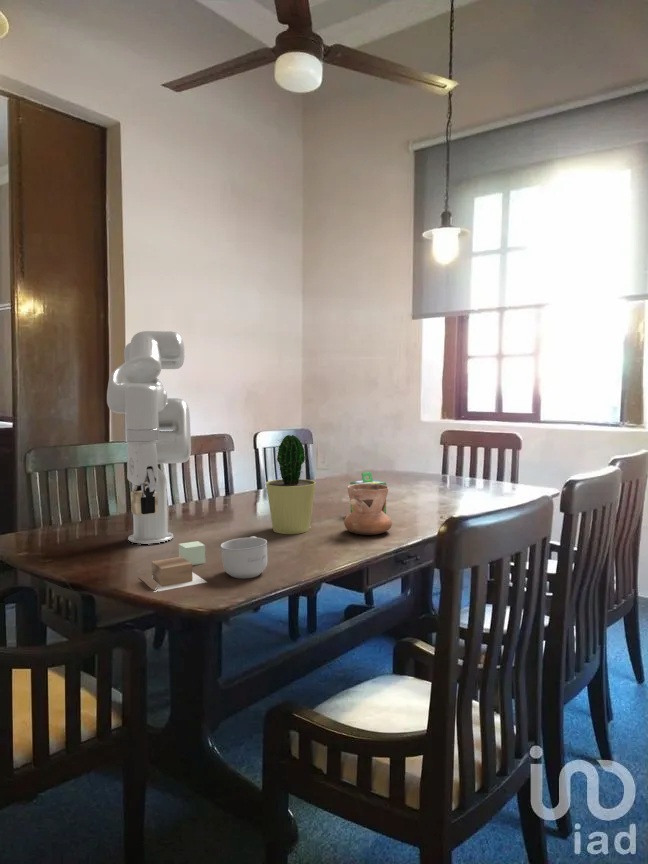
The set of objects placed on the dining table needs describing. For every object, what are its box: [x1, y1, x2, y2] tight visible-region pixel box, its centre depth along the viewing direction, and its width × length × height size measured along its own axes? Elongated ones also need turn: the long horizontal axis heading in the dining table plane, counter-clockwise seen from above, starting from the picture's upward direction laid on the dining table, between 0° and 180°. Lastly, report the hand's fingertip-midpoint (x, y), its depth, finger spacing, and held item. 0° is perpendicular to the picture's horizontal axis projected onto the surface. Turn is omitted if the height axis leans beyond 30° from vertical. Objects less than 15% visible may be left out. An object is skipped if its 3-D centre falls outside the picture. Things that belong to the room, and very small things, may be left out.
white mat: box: [153, 571, 207, 593], centre depth 139 cm, size 12×12×1 cm
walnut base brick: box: [151, 556, 193, 587], centre depth 139 cm, size 7×7×4 cm
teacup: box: [220, 535, 268, 579], centre depth 145 cm, size 14×11×8 cm
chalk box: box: [349, 471, 387, 515], centre depth 210 cm, size 9×9×15 cm
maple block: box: [130, 490, 158, 516], centre depth 148 cm, size 5×5×5 cm
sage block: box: [178, 540, 206, 566], centre depth 153 cm, size 5×5×5 cm
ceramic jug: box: [343, 483, 393, 536], centre depth 186 cm, size 18×14×14 cm
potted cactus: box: [265, 434, 317, 535], centre depth 189 cm, size 15×15×30 cm
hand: (144, 510), depth 148 cm, fingers closed on maple block, 5 cm apart
